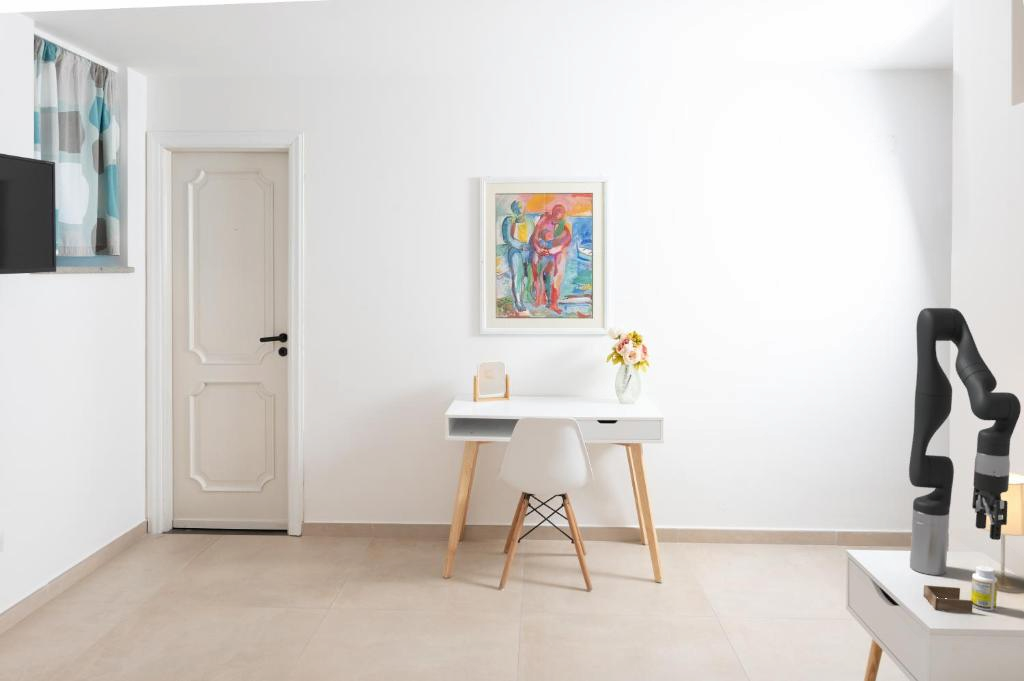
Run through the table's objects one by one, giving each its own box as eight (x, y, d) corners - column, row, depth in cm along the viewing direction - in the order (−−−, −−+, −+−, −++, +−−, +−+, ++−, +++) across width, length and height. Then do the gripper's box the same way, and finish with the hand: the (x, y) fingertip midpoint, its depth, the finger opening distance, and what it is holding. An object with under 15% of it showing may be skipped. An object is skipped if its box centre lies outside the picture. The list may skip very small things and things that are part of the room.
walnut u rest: (923, 596, 207) (924, 585, 207) (958, 598, 206) (959, 587, 206) (935, 610, 199) (936, 598, 199) (972, 612, 197) (972, 601, 197)
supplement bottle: (985, 602, 204) (988, 563, 203) (1000, 611, 199) (1003, 572, 198) (965, 602, 203) (967, 564, 203) (980, 612, 198) (982, 572, 197)
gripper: (964, 463, 206) (960, 524, 207) (987, 477, 192) (983, 542, 193) (995, 464, 204) (991, 525, 206) (1021, 478, 190) (1016, 544, 192)
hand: (987, 533), depth 199 cm, fingers open, 8 cm apart
